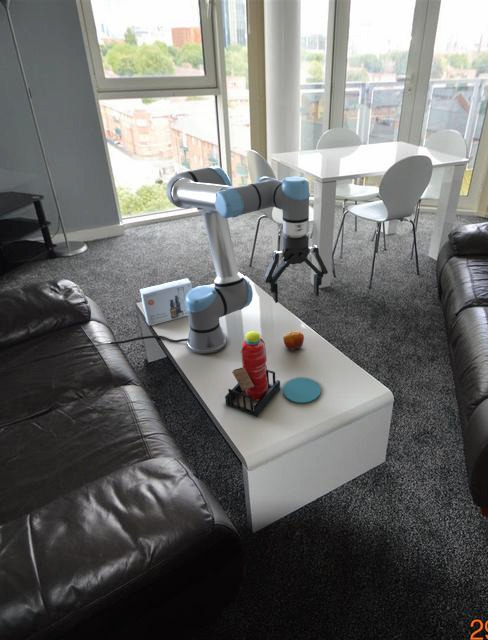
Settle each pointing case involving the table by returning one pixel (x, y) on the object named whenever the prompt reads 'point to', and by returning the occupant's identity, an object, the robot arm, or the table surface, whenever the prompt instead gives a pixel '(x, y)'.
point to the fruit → (293, 340)
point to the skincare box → (165, 301)
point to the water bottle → (253, 367)
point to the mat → (301, 390)
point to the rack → (260, 404)
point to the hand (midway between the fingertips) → (296, 297)
